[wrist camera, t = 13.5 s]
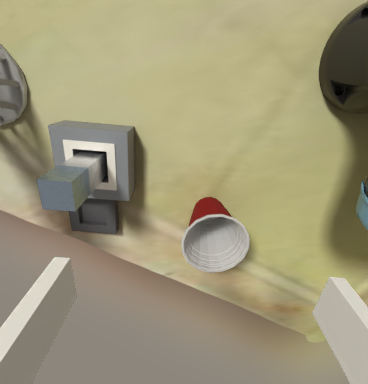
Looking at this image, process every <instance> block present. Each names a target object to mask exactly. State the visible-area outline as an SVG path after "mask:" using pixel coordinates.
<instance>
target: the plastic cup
mask: <svg viewBox="0 0 368 384" xmlns="http://www.w3.org/2000/svg"><path fill="white" fill-rule="evenodd" d="M249 239H250V237H249V235H248V232H247V230H246V228H245V226H244V225H243V224H241V223H240V222H239V221H238V220H237V219H235V218H233V217H232V216H231V215H230V214H229V212H228V211H227V210H226V208H224V206H223V205H222V203H221V202H219V201H218V200H217V199H215V198H212V197H206V198H203V199H201V200H199V201H198V202H197V203H196V205H195V208H194V210H193V214H192V216H191V220H190V223H189V227H188V228H187V229H186V231H185V233H184V236H183V238H182V241H181V245H182V254H183V255H184V257H185V259H186V260H187V262H188V263H189V264H190V265H192V266H193V267H195V268H196V269H198V270H201V271H205V272H209V273H211V272H223V271H225V270H228V269H230V268H233V267H235V266H236V265H237V264H238V263H239V262H240V261H242V260H243V259H244V257H245V255H246V253H247V251H248V249H249Z"/></svg>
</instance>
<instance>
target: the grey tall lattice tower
mask: <svg viewBox="0 0 368 384" xmlns="http://www.w3.org/2000/svg"><path fill="white" fill-rule="evenodd" d="M27 88H28V87H27V84H26V81H25V78H24V75H23V72H22V69H21V68H20V67H19V66H18V64H17V63H16V62H15V61H14V59H13V58H12V57H11V56H10V54H9V53H8V52H7V51H6V49H5V48H4V47H3V46H2V45H1V44H0V126H1V125H4V124H7V123H11V122H14V121H15V120H16V119H17V118H20V116H21V114H22V113H23V111H24V109H25V107H26V105H27Z"/></svg>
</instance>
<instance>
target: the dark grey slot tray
mask: <svg viewBox="0 0 368 384" xmlns="http://www.w3.org/2000/svg"><path fill="white" fill-rule="evenodd" d="M69 215H70V221H71V228H72V231H84V232H98V233H111V234H116V233H117V231H118V229H119V222H118V201H117V200H107V199H94V198H87V199H86V200H85V201H84V202H83V203H82V205H81V206H80V207H79V208H78V209H77V210H76V211H75V212H74V211H69Z"/></svg>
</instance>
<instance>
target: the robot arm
mask: <svg viewBox="0 0 368 384" xmlns="http://www.w3.org/2000/svg"><path fill="white" fill-rule="evenodd" d="M319 78H320V84H321V88H322V91H323V93H324V95H325V97H326V98H327V100H328V101H329V102H330V103H331V104H332V105H334V106H335V107H337V108H339V109H341V110H344V111H348V112H354V113H368V2H366V3H364V4H362V5H360V6H359V7H357V8H356V9H354V10H353V11H352V12H351V13H349V14H348V15H347V16H346V17H345V18H344V19H343V20H342V21H341V22H340V23H339V25H338V26H337V27H336V28H335V30H334V31H333V33H332V34H331V36H330V38H329V40H328V41H327V44H326V46H325V48H324V51H323V54H322V57H321V62H320V69H319ZM356 213H357V216H358V218H359V219H360V220H361V223H362V225H363V226H364V227H365V228H366V229H367V230H368V172H367V175H366V177H365V178H364V179H363V181H362V183H361V192H360V195H359V198H358V201H357V204H356ZM76 298H77V295H76V289H75V283H74V277H73V271H72V266H71V260H70V258H62V257H54V259H53V260H52V261H51V263H50V264H49V265H48V266H47V268H46V269H45V270H44V272H43V273H42V274H41V275H40V277H39V278H38V279H37V281H36V282H35V283H34V285H33V286H32V287H31V289H30V290H29V291H28V293H27V294H26V295H25V297H24V298H23V299H22V300H21V302H20V303H19V304H18V306H17V307H16V308H15V309H14V311H13V312H12V313H11V315H10V316H9V317H8V319H7V320H6V321H5V323H4V324H3V325H2V326H1V328H0V384H32V383H33V381H34V379H35V377H36V375H37V373H38V371H39V369H40V367H41V365H42V363H43V362H44V359H45V358H46V356H47V354H48V352H49V350H50V348H51V346H52V344H53V342H54V340H55V338H56V336H57V334H58V333H59V331H60V329H61V327H62V325H63V323H64V321H65V319H66V317H67V315H68V313H69V311H70V309H71V307H72V305H73V304H74V302H75V300H76ZM312 314H313V316H314V318H315V320H316V321H317V323H318V325H319V327H320V329H321V331H322V332H323V334H324V336H325V338H326V340H327V342H328V343H329V345H330V347H331V349H332V351H333V353H334V355H335V356H336V358H337V360H338V362H339V364H340V366H341V367H342V369H343V371H344V373H345V375H346V377H347V378H348V380H349V382H350V384H368V307H367V306H366V304H365V303H364V302H363V301H362V299H361V298H360V297H359V296H358V294H357V293H356V292H355V291H354V290H353V288H352V287H351V286H350V285H349V283H348V282H347V281H346V280H345V278H337V277H329V279H328V281H327V283H326V285H325V287H324V289H323V291H322V293H321V296H320V298H319V300H318V302H317V304H316V306H315V308H314V310H313V312H312Z"/></svg>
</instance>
